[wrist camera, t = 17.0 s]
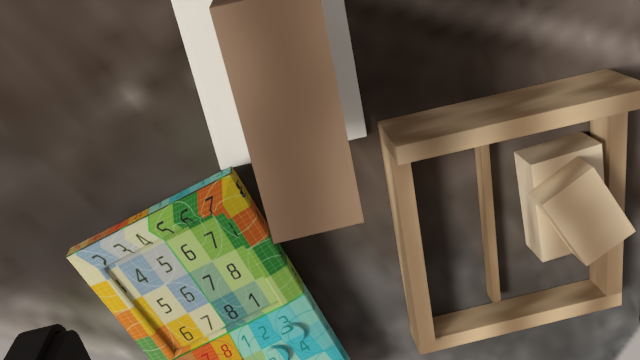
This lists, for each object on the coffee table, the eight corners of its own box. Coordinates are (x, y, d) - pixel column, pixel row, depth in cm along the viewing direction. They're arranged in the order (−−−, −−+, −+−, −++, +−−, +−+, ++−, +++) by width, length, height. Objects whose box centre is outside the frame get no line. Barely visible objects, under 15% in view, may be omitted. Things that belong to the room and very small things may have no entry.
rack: (607, 68, 39) (656, 86, 34) (603, 287, 46) (643, 326, 42) (377, 121, 38) (395, 147, 34) (411, 334, 46) (430, 378, 41)
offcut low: (577, 129, 41) (601, 143, 38) (585, 223, 44) (608, 242, 41) (511, 149, 41) (530, 165, 38) (524, 241, 44) (542, 262, 41)
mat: (330, -73, 33) (331, -72, 33) (365, 134, 38) (367, 136, 38) (161, -36, 33) (160, -36, 32) (221, 167, 38) (220, 169, 38)
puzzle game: (226, 461, 43) (61, 264, 35) (227, 413, 47) (80, 228, 39) (365, 396, 42) (230, 178, 34) (354, 353, 46) (231, 150, 38)
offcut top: (576, 156, 38) (593, 167, 36) (618, 218, 41) (635, 231, 39) (527, 193, 39) (542, 205, 37) (571, 252, 41) (586, 266, 39)
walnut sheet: (288, -36, 33) (317, -17, 20) (321, 123, 37) (363, 222, 25) (221, -21, 33) (209, 8, 20) (262, 137, 37) (273, 244, 24)
